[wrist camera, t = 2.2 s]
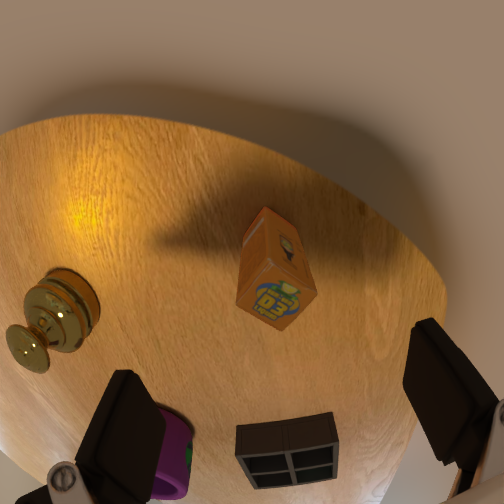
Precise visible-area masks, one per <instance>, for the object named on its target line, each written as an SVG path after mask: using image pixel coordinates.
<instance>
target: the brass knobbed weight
mask: <svg viewBox="0 0 504 504" xmlns="http://www.w3.org/2000/svg"><path fill="white" fill-rule="evenodd" d="M23 308H24V315H25V318H26V322H27V326H28V327H24V326H21V325H18V324H13V325H11V326H9V327H8V329H7V331H6V341H7V344H8V347H9V349H10V351H11V353H12V355H13V357H14V358H15V360H16V361H17V362H18V363H19V364H20V365H22V366H23V367H25V368H26V369H28V370H30V371H32V372H35V373H39V374H43V373H45V372H46V371H47V370H48V369H49V367H50V357H49V354H48V352H47V349H51V350H55V351H57V352H61V353H72V352H75V351H77V350H78V349H79V348H80V347H81V346H82V344H83V342H84V340H85V338H87V337H88V336H89V335H90V333H91V331H92V329H93V328H94V326H95V325H96V324H97V322H98V319H99V305H98V302H97V299H96V297H95V295H94V293H93V291H92V290H91V288H90V287H89V286H88V284H87V283H86V282H85V281H84V280H83V279H82V278H80V277H79V276H77V275H76V274H74V273H72V272H70V271H66V270H56V271H53V272H51V273H50V274H49V275H48V276H46V277H45V278H43V279H42V280H40V281H39V283H38V284H37V285H36V286H34V287H32V288H31V289H30V290H29V291H28V292H27V293H26V295H25V298H24V304H23Z"/></svg>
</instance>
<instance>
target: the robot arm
mask: <svg viewBox="0 0 504 504" xmlns="http://www.w3.org/2000/svg"><path fill="white" fill-rule="evenodd" d="M403 388H404V391H405V393H406V395H407V397H408V399H409V401H410V403H411V405H412V407H413V409H414V411H415V413H416V415H417V417H418V419H419V421H420V423H421V425H422V428H423V430H424V432H425V434H426V436H427V438H428V440H429V443H430V445H431V447H432V449H433V452H434V454H435V456H436V458H437V460H438V461H442V462H443V464H444V466H446V465H448V464H450V463H452V462H454V461H455V462H456V463H457V466H458V468H459V470H458V473H457V475H456V478H455V481H454V484H453V486H452V489H451V491H450V494H449V496H448V499H447V500H446V501H444V502H442V503H440V504H504V399H502V400H501V401H499V400H498V398H497V397H496V395H495V394H494V393H493V391H492V390H491V388H490V387H489V386H488V384H487V383H486V381H485V380H484V379H483V377H482V376H481V375H480V373H479V372H478V371H477V369H476V368H475V367H474V365H473V364H472V363H471V362H470V360H469V359H468V358H467V356H466V355H465V354H464V353H463V351H462V350H461V349H460V348H458V347H457V346H456V345H455V343H454V342H453V341H452V340H451V339H450V337H449V336H448V335H447V334H446V332H445V331H444V330H443V329H442V328H441V326H440V325H439V324H438V323H437V322H436V320H435V319H434V318H427V319H424V320H421V321H418V322H416V324H415V327H413V328H412V329H411V335H410V342H409V349H408V355H407V361H406V366H405V372H404V377H403ZM165 431H166V420H165V418H164V416H163V415H162V413H161V412H160V410H159V409H158V407H157V405H156V404H155V402H154V401H153V399H152V397H151V396H150V394H149V392H148V391H147V389H146V387H145V386H144V384H143V382H142V381H141V379H140V377H139V376H138V374H136V373H134V372H133V371H132V370H116V371H115V372H114V373H113V375H112V377H111V379H110V381H109V383H108V386H107V388H106V390H105V392H104V394H103V396H102V398H101V400H100V402H99V405H98V407H97V409H96V411H95V413H94V415H93V418H92V420H91V422H90V424H89V427H88V429H87V431H86V433H85V436H84V438H83V440H82V443H81V445H80V447H79V450H78V452H77V455H76V457H75V460H76V463H75V465H74V464H73V463H71V462H68V461H63V462H59V463H57V464H55V465H54V466H53V467H52V468H51V469H50V471H49V473H48V475H47V485H45V486H43V487H41V488H38V489H36V490H34V491H32V492H30V493H28V494H26V495H24V496H22V497H20V498H19V499H18V500H17V501H16V502H15V504H146V502H148V501H149V500H150V498H151V494H152V489H153V484H154V479H155V475H156V470H157V466H158V461H159V457H160V453H161V448H162V444H163V440H164V435H165Z"/></svg>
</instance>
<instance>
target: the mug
mask: <svg viewBox="0 0 504 504" xmlns="http://www.w3.org/2000/svg"><path fill="white" fill-rule="evenodd" d="M158 409H159V410H160V412H161V413H162V415H163V416H164V418H165V420H166V431H165V435H164V440H163V444H162V448H161V453H160V457H159V461H158V466H157V470H156V475H155V479H154V484H153V489H152V494H151V498H150V499H161V500H177V499H181V498H183V497H185V496H186V494H187V491H188V486H189V479H190V473H191V463H192V453H193V443H192V435H191V432H190V429H189V428H188V426H187V425H186V424H185V423H184V422H183V421H182V420H181V419H179V418H178V417H177V416H175V415H173V414H172V413H170V412H167V411H165V410H163V409H160V408H158Z"/></svg>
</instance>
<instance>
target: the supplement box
mask: <svg viewBox="0 0 504 504" xmlns="http://www.w3.org/2000/svg"><path fill="white" fill-rule="evenodd" d="M317 294H318V293H317V289H316V286H315V283H314V280H313V277H312V274H311V271H310V268H309V265H308V262H307V259H306V255H305V252H304V249H303V247H302V243H301V240H300V238H299V235H298V232H297V229H296V228H295V227H294V226H293V225H292V224H290V223H289V222H287V221H286V220H285V219H283V218H282V217H281V216H279V215H278V214H276V213H275V212H273V211H272V210H271V209H269V208H268V207H266V206H265V207H263V208H262V210H261V211H260V213H259V214H258V215H257V217H256V218H255V220H254V221H253V222H252V224H251V225H250V227H249V228H248V230H247V231H246V233H245V234H244V236H243V242H242V251H241V261H240V269H239V278H238V288H237V297H236V306H238V307H239V308H241V309H243V310H244V311H246V312H248V313H250V314H251V315H253V316H255V317H257V318H258V319H260V320H262V321H263V322H265V323H267V324H269V325H270V326H272V327H274V328H276V329H277V330H279V331H283V330H284V329H285V328H286V327H287V326H288V325H290V323H292V322H293V321H294V320H295V319H296V318H297V317H298V315H299V314H300V313H301V312H302V311H303V310H304V309H305V308H306V307H307V306H308V305H309V304H310V303H311V302H312V301H313V299H314V298H315V297H316V296H317Z"/></svg>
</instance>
